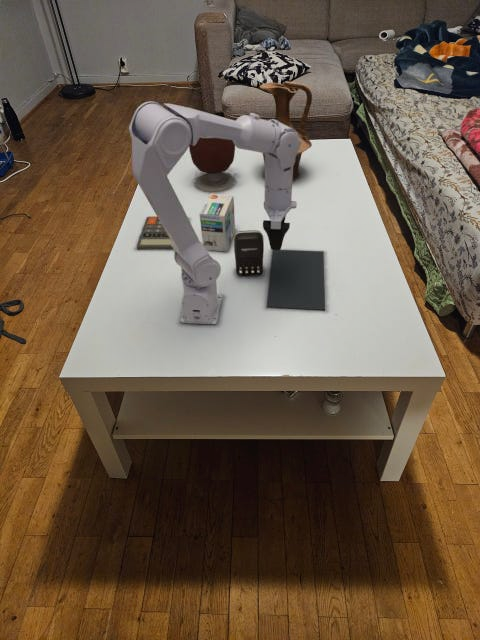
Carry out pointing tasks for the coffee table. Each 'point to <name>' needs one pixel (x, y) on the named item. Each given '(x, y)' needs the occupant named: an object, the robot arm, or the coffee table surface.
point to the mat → (297, 280)
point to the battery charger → (249, 252)
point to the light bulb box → (217, 222)
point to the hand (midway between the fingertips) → (276, 239)
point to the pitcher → (282, 103)
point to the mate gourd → (213, 163)
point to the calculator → (154, 235)
